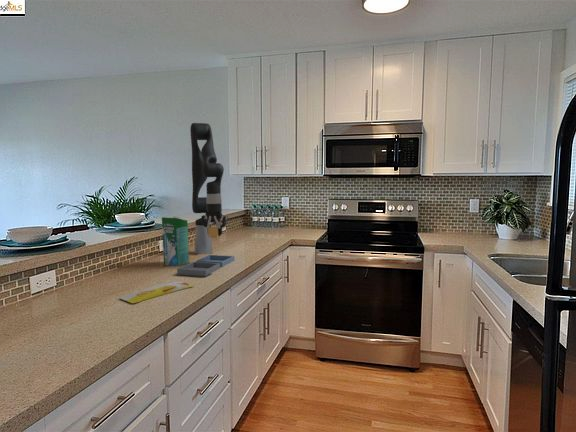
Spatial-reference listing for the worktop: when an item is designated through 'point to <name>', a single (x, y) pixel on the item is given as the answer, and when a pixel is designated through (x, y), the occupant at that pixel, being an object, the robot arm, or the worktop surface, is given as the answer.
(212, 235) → the orange cube
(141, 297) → the food package
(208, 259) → the slate-blue tray
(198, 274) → the charcoal tray
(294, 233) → the worktop surface
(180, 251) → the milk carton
